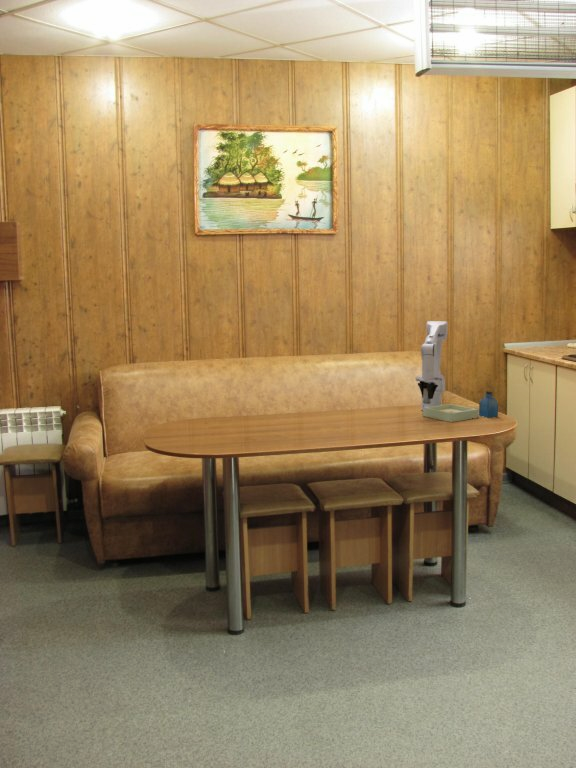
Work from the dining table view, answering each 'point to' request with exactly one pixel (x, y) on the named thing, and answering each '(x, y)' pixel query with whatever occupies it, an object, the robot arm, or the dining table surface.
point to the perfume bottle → (488, 406)
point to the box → (450, 412)
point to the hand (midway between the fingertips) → (427, 398)
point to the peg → (426, 396)
